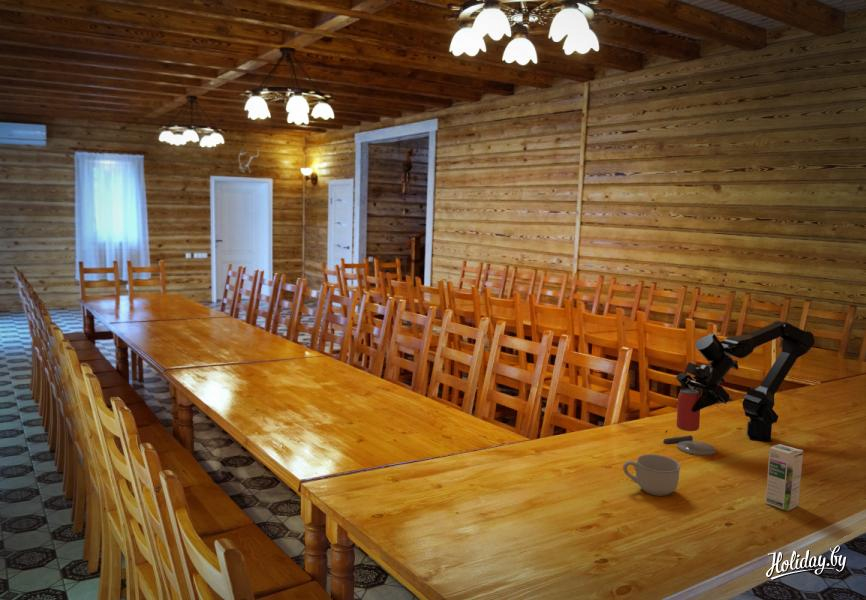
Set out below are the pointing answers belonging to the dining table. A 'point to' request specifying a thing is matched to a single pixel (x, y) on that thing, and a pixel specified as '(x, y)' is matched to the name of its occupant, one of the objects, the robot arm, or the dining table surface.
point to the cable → (678, 439)
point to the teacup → (655, 473)
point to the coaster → (696, 448)
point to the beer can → (688, 410)
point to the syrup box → (784, 477)
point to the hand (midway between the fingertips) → (685, 408)
